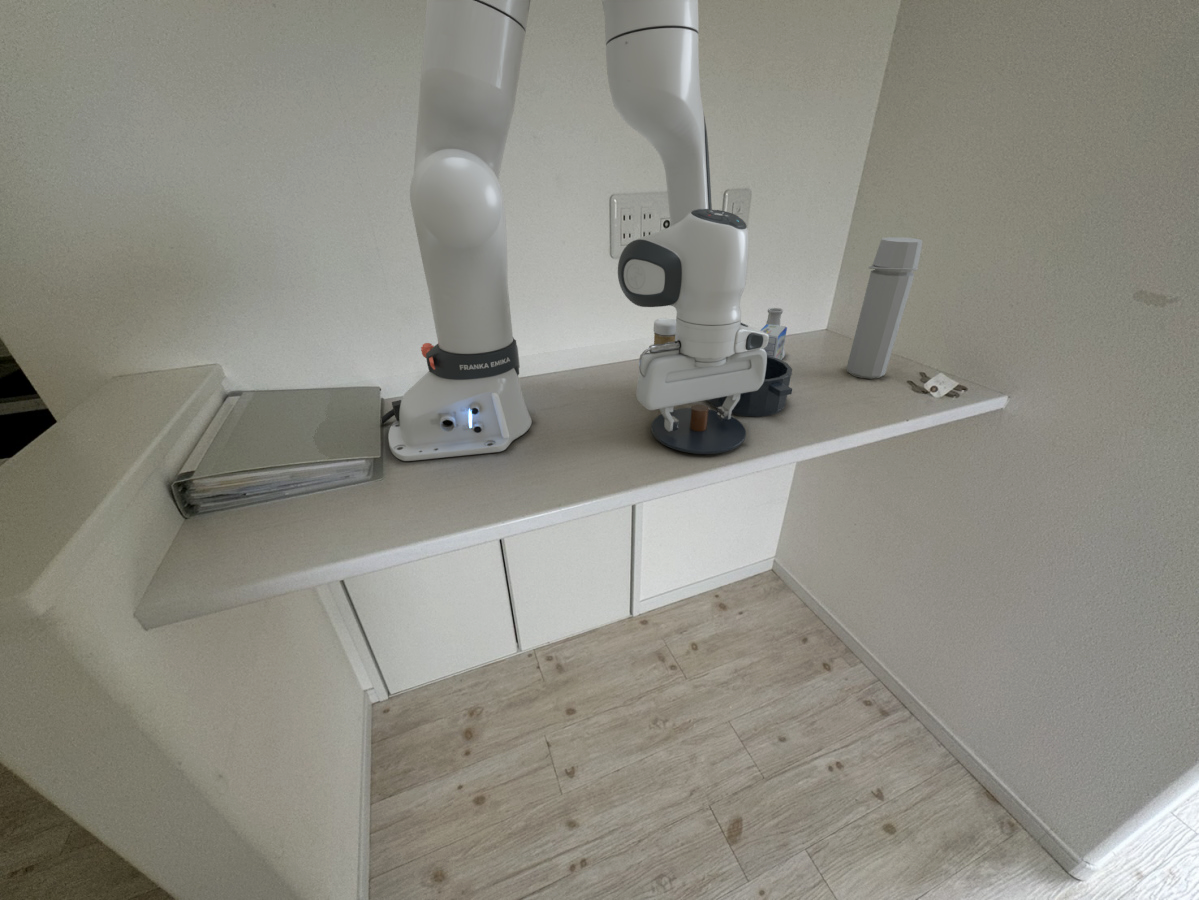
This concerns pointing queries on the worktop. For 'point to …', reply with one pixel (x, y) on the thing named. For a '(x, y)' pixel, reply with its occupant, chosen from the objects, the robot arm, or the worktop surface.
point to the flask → (775, 319)
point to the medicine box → (775, 340)
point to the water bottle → (883, 306)
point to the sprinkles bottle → (664, 330)
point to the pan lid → (700, 431)
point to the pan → (764, 392)
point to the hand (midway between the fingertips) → (697, 423)
